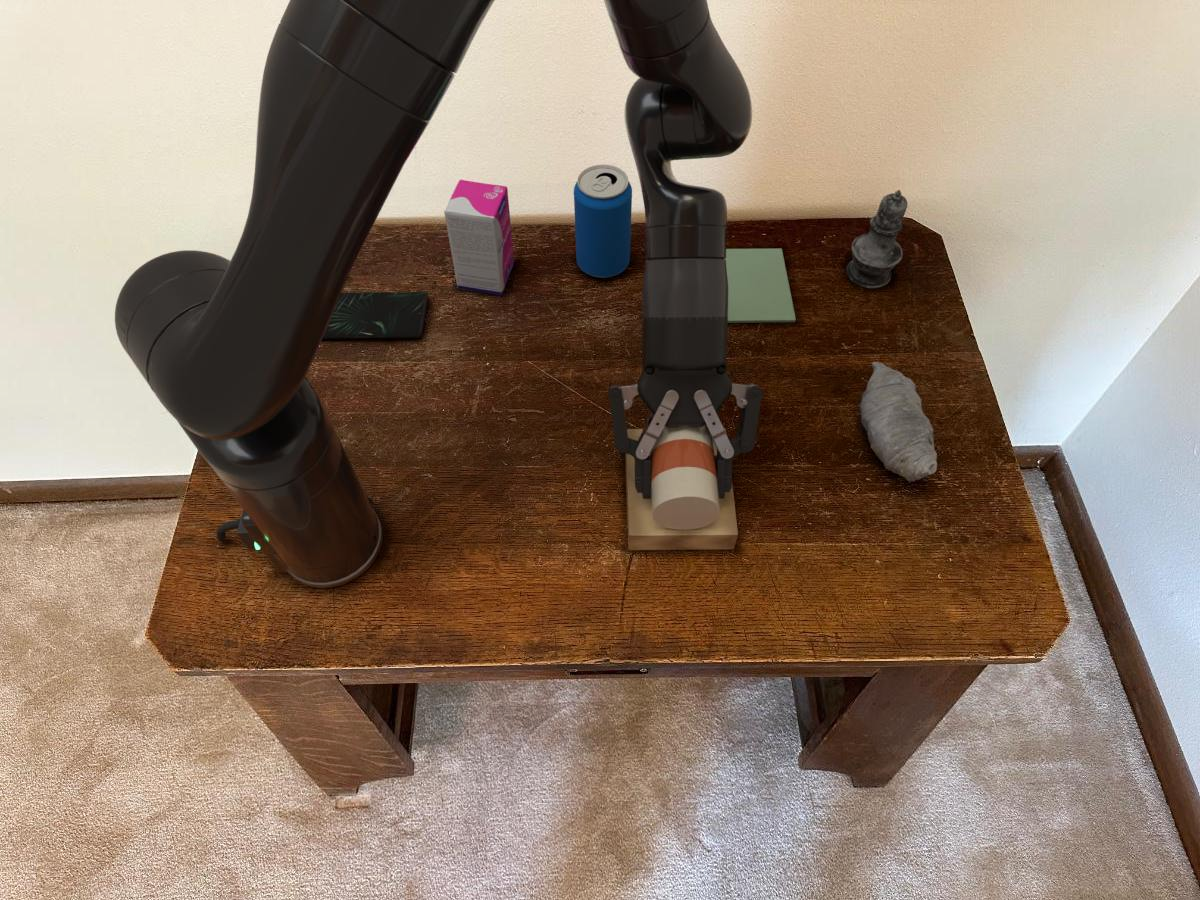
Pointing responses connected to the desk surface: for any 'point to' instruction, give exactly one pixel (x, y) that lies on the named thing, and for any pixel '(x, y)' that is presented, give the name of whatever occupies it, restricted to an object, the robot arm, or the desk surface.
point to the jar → (684, 478)
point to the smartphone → (378, 315)
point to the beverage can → (603, 220)
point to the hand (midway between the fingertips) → (682, 496)
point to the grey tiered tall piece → (879, 245)
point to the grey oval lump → (898, 424)
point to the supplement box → (480, 236)
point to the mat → (758, 286)
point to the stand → (656, 537)
